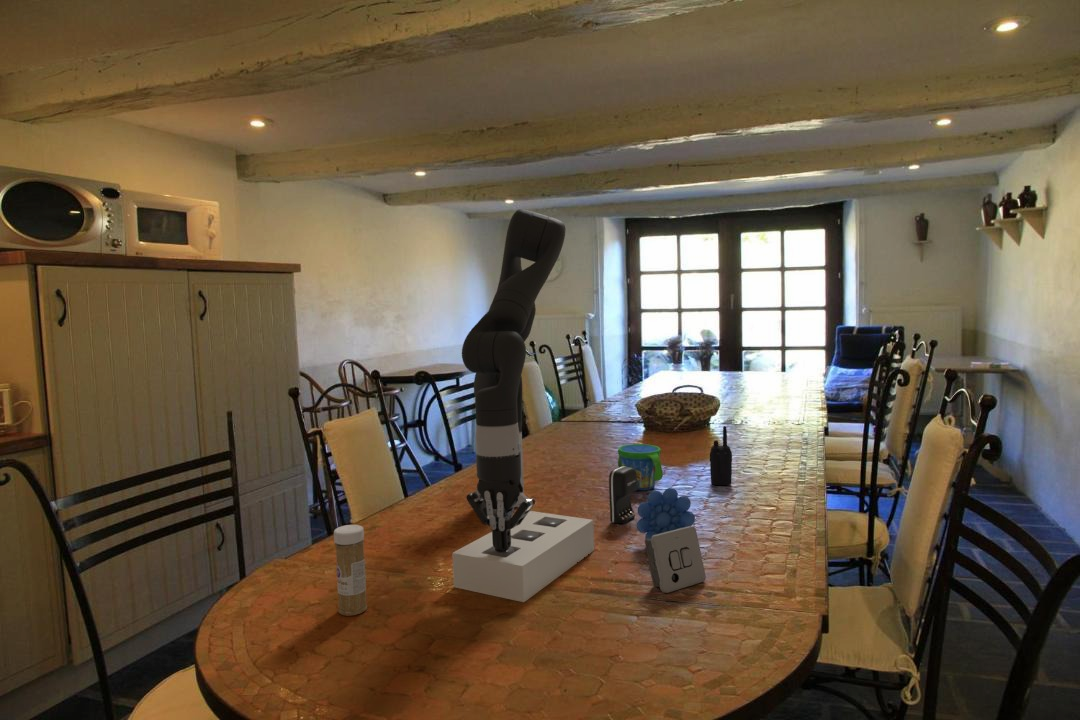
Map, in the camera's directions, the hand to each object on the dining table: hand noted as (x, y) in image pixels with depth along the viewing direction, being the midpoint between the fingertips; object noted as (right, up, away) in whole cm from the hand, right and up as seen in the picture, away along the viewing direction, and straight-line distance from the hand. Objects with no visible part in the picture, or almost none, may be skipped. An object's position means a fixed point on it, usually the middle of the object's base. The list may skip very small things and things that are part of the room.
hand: (502, 550), depth 121 cm
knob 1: (0, -5, +1) cm, 5 cm away
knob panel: (+4, -5, +8) cm, 10 cm away
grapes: (+31, -4, +16) cm, 35 cm away
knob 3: (+8, -4, +15) cm, 18 cm away
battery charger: (+25, -3, +33) cm, 42 cm away
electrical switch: (+29, -6, -1) cm, 30 cm away
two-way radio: (+52, 0, +59) cm, 79 cm away
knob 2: (+4, -4, +8) cm, 10 cm away
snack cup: (+32, 0, +59) cm, 67 cm away
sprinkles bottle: (-23, -8, -8) cm, 26 cm away
